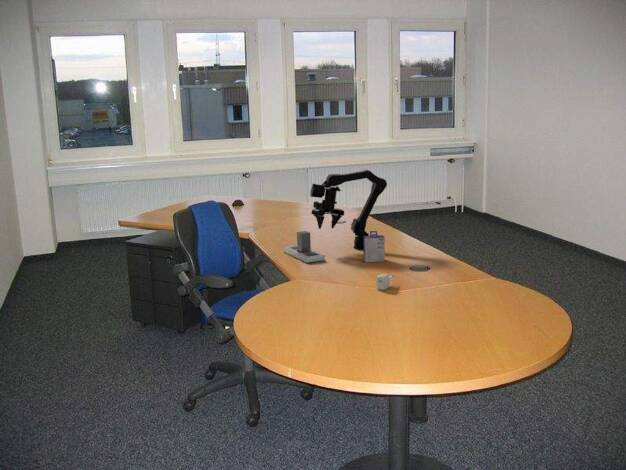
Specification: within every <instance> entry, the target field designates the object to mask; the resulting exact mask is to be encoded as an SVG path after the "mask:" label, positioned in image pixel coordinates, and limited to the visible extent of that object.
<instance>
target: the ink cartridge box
mask: <svg viewBox="0 0 626 470" xmlns="http://www.w3.org/2000/svg"><path fill="white" fill-rule="evenodd" d="M385 238H386V237H385V236H384V235H383V234H378V230H370V231H369V236H364V249H363V260H364V261H363V262H364V263H376V262H378V263H379V262H385V261H386V260H385V259H386V257H385V256H386V255H385V253H386V251H385V250H386V249H385V242H386V239H385Z"/></svg>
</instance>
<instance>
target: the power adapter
mask: <svg viewBox="0 0 626 470" xmlns="http://www.w3.org/2000/svg"><path fill="white" fill-rule="evenodd" d="M394 277H395V276H394V275H393V274H392V275H390V274H388V273H383V272H382V273H380V274H378V275H377V276H376V285H375V287H376V289H377V290H378V291H379V290H380V291H384V290H387V289H389V287H390V282H391V281H393V279H394Z"/></svg>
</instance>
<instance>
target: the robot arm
mask: <svg viewBox="0 0 626 470" xmlns="http://www.w3.org/2000/svg"><path fill="white" fill-rule="evenodd" d="M363 179H367V180H368V181H370V183H372V184H371V186H370V189H371V190H370V194H369V195H368V197H367V200H366V201H365V204H364V206H363V208H362V209H361V212H360V214H359V216H358V217H357V218H353V220H352V222H351V223H350V225H351V226H350V230H351V232H352V233H353V234H354V235H355V236H354V241H353V249H356V250H359V251H364V236H370V233H369V232H367V231H366V228H367V220H368V218H369V216H370V214H371V212H372V210H373V208H374V207H375V204H376V202H377V200H378V197H379V196H380V195H381V194H382V193H383V192H384V191H385V189H386V188H387V186H388V183H387V180H386V179H385V178H382V177H379V176H377V174H374V173H373V172H372V171H371V170H369V169H364V170H361V171H355V172H350V173H343V174H341V173H330V174H328V175H327V176H326V178H325V180H324V181H323V182H322V184H319V183H318V184H316V183H312V185H311V188H310V195H309V196H310V197H311V198H318V199H322V198H323V197H324V199H322V200H321V202H319V201H313V208H312V210H311V215H313V216H314V217H315V218H316V222H317V226H318V229H320V230H321V228H322V226H323V222H324V219H325V215H330V216H331V229H334V228H335V226H336V225H337V223H338V222H339V220H340V219H341V218H343V216H345V211H344V209H340V208H335V207H336V204H338V202H337V192H341V191H342V190H341V189H340V187H339V186H340V185H342V184H344V183H346V182H347V183H348V182H352V181H358V180H363Z"/></svg>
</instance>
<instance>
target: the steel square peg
mask: <svg viewBox="0 0 626 470" xmlns="http://www.w3.org/2000/svg"><path fill="white" fill-rule="evenodd" d="M296 246H297V251H298V252H300V253H306V252H311V249H312V248H311V247H312V246H311V232H309V231H306V230H303V231H297V232H296Z"/></svg>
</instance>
